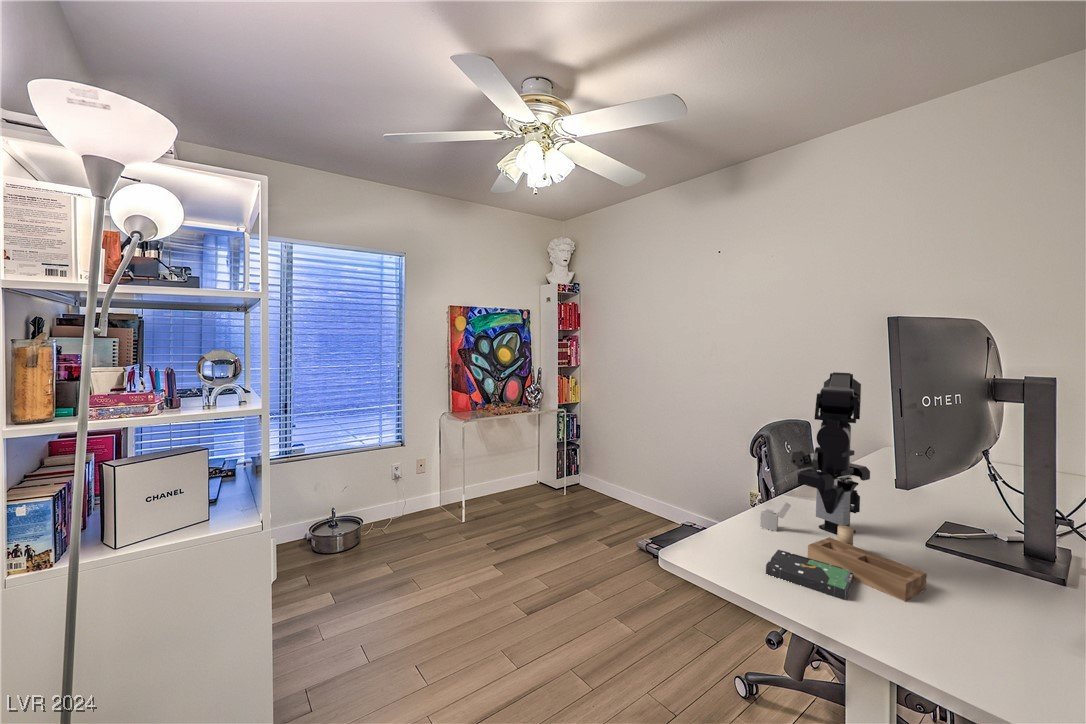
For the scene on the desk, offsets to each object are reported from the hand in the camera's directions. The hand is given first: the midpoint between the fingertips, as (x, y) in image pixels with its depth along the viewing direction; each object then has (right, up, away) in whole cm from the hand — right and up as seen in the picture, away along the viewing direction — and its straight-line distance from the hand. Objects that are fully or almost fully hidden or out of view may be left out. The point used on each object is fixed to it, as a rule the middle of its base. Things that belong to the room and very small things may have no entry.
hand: (832, 512), depth 100 cm
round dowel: (+7, -12, +7) cm, 15 cm away
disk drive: (-9, -13, -5) cm, 16 cm away
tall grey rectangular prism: (0, -2, 0) cm, 2 cm away
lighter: (-3, -12, +19) cm, 23 cm away
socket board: (+4, -12, -4) cm, 14 cm away
